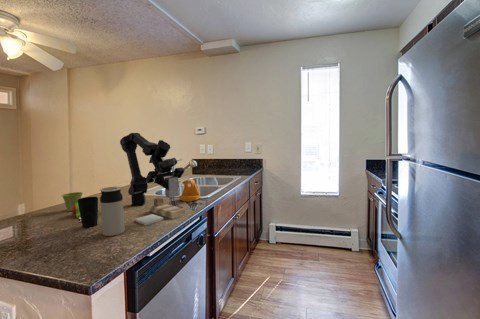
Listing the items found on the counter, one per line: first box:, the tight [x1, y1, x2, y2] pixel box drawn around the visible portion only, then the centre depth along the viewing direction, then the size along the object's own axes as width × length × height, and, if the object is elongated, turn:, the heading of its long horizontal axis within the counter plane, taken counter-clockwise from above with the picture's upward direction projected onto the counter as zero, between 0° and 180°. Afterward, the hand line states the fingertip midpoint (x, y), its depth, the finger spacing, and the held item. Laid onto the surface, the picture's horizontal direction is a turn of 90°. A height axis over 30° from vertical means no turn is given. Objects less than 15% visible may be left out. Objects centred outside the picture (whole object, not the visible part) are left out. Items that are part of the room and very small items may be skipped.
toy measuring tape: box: [71, 203, 82, 223], centre depth 124 cm, size 6×19×7 cm, turn 35°
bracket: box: [178, 178, 201, 202], centre depth 154 cm, size 11×7×12 cm, turn 82°
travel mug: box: [99, 186, 126, 237], centre depth 102 cm, size 8×8×18 cm
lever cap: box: [164, 176, 179, 198], centre depth 123 cm, size 4×5×9 cm
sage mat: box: [134, 213, 164, 226], centre depth 117 cm, size 9×9×1 cm
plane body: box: [149, 197, 186, 220], centre depth 128 cm, size 20×7×6 cm, turn 49°
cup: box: [78, 196, 99, 229], centre depth 111 cm, size 8×8×12 cm
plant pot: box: [61, 191, 83, 212], centre depth 138 cm, size 9×9×9 cm
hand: (173, 188), depth 122 cm, fingers closed on lever cap, 5 cm apart
